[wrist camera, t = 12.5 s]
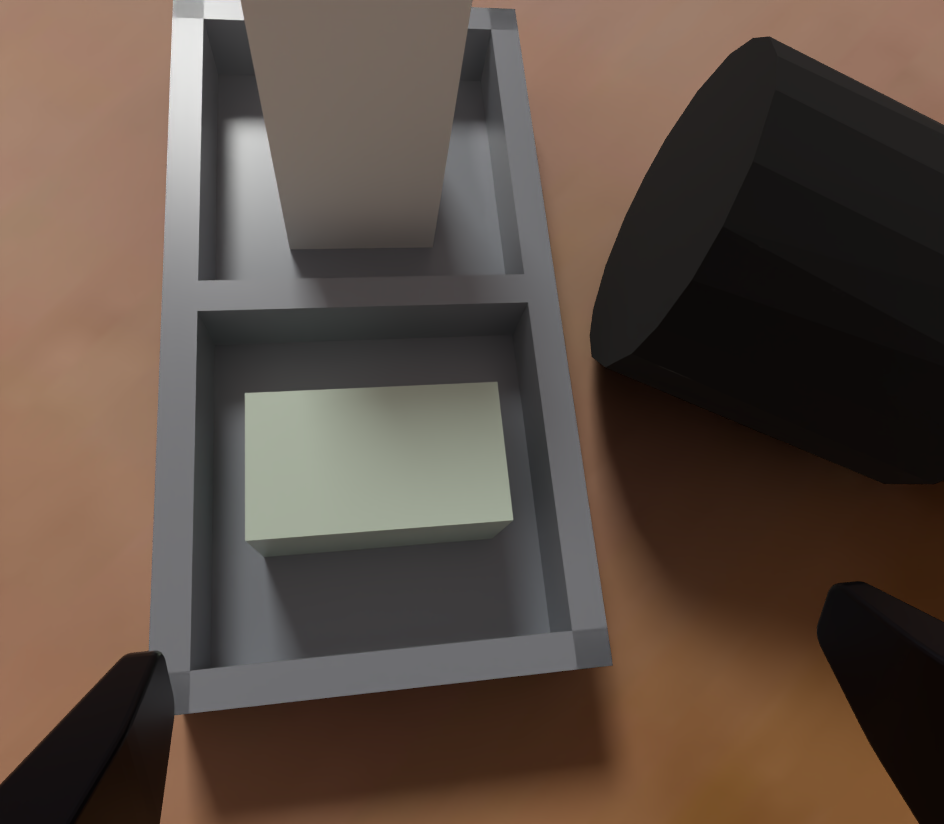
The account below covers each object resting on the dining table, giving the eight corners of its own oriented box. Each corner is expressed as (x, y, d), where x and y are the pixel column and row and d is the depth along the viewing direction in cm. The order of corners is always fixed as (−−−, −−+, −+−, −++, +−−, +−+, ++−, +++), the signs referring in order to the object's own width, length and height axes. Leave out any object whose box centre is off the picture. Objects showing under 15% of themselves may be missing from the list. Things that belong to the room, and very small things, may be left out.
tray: (576, 662, 23) (625, 666, 18) (181, 707, 21) (133, 722, 16) (498, 80, 29) (520, -15, 25) (196, 72, 28) (165, -32, 23)
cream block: (432, 247, 25) (484, -72, 14) (289, 249, 25) (223, -87, 13) (421, 131, 27) (460, -240, 16) (286, 130, 26) (224, -263, 15)
